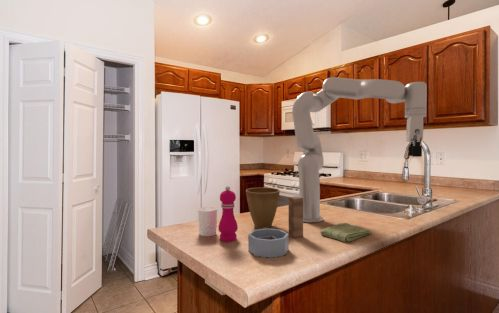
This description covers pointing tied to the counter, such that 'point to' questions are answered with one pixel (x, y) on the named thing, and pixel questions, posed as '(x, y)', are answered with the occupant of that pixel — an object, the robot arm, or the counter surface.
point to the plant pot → (262, 205)
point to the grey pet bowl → (268, 242)
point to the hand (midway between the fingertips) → (414, 156)
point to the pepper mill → (227, 216)
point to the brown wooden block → (296, 217)
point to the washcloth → (345, 232)
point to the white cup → (207, 221)
